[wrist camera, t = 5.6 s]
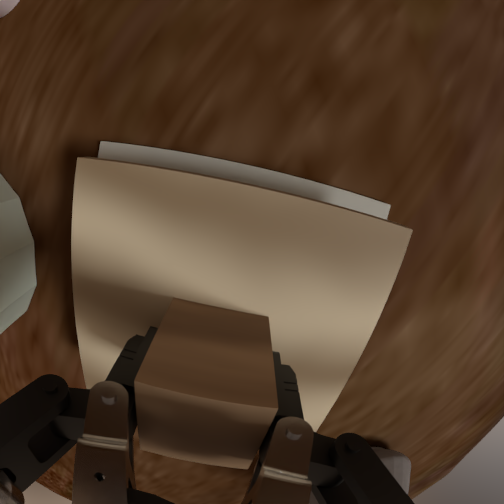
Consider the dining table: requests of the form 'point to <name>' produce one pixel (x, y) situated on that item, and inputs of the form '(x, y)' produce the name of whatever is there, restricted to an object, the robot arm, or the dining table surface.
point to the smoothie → (7, 6)
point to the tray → (242, 175)
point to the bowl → (14, 258)
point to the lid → (222, 299)
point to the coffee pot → (389, 468)
